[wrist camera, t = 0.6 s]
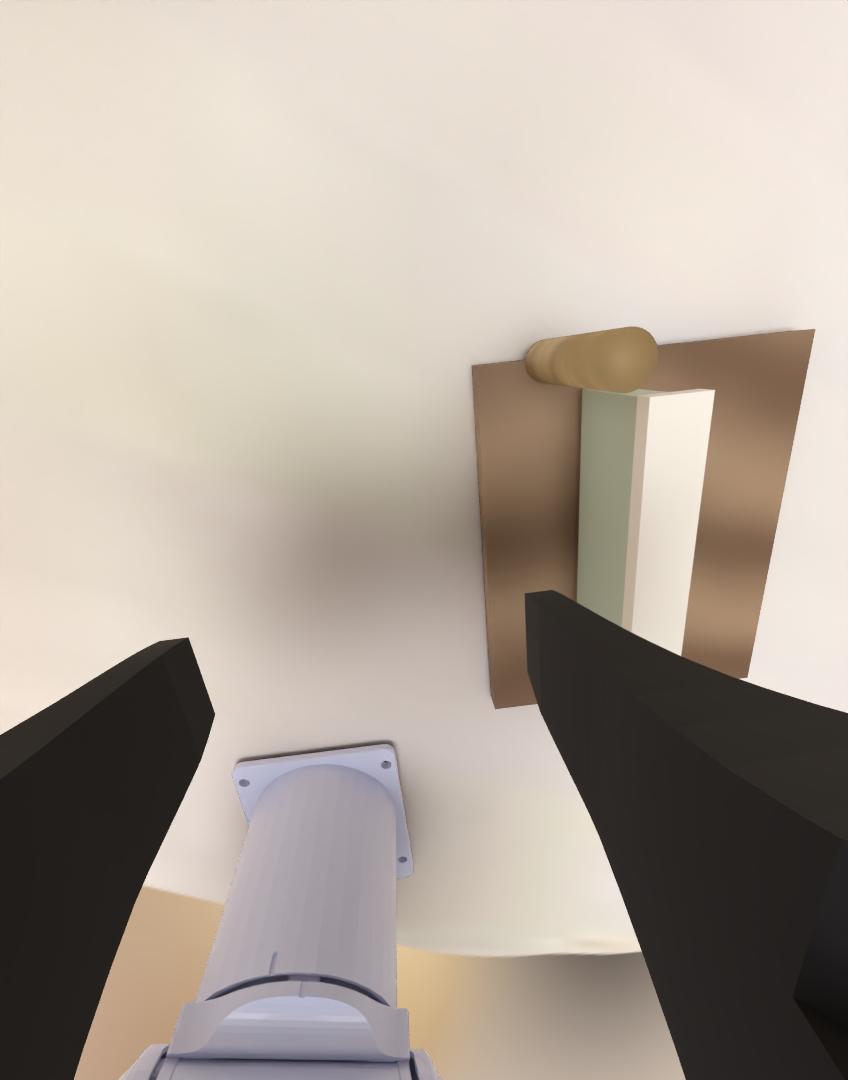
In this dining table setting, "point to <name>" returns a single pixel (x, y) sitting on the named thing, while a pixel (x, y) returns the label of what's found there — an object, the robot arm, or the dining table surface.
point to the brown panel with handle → (554, 479)
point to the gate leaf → (641, 507)
